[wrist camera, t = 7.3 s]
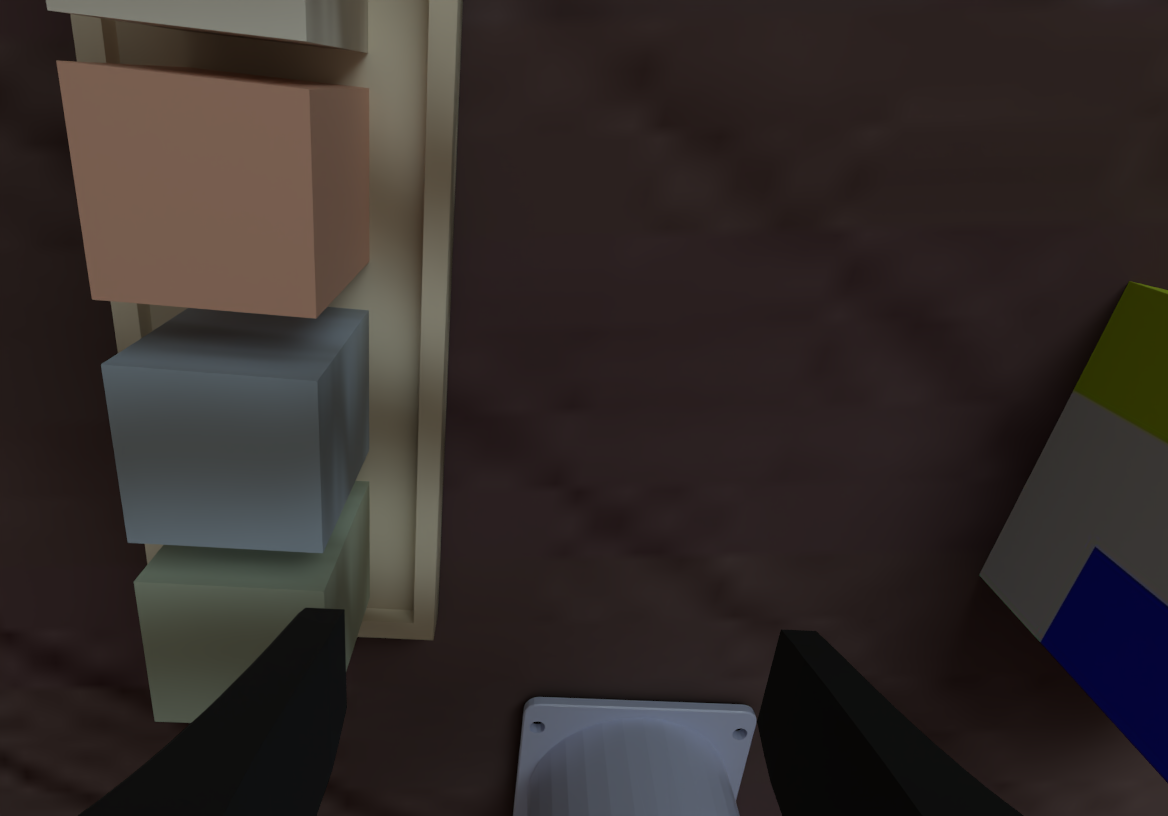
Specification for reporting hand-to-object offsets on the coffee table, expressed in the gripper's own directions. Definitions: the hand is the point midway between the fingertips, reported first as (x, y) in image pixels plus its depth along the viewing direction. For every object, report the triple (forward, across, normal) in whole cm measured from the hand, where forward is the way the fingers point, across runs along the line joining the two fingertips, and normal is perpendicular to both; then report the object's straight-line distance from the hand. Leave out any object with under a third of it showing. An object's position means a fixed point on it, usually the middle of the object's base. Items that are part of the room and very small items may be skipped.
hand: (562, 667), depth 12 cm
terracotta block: (+9, +7, -6) cm, 13 cm away
